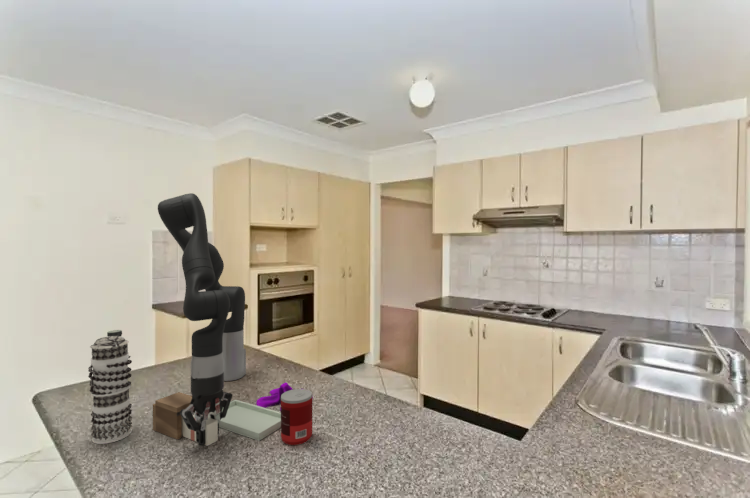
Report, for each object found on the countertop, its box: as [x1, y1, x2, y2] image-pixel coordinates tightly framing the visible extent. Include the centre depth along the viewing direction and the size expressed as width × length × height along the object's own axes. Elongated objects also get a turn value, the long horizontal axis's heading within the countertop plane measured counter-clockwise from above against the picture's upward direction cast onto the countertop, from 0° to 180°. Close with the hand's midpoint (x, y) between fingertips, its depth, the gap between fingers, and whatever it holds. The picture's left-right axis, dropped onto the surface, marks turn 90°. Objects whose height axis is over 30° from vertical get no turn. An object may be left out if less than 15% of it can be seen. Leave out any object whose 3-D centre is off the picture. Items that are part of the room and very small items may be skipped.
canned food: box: [280, 388, 313, 446], centre depth 97 cm, size 8×8×11 cm
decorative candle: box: [87, 336, 133, 445], centre depth 97 cm, size 9×9×25 cm
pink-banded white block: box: [181, 413, 219, 447], centre depth 97 cm, size 3×14×5 cm, turn 61°
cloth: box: [255, 381, 314, 412], centre depth 120 cm, size 22×19×6 cm
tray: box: [208, 399, 281, 442], centre depth 105 cm, size 12×22×2 cm, turn 61°
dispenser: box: [152, 391, 195, 440], centre depth 101 cm, size 7×10×8 cm, turn 61°
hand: (207, 440), depth 95 cm, fingers closed on pink-banded white block, 3 cm apart
